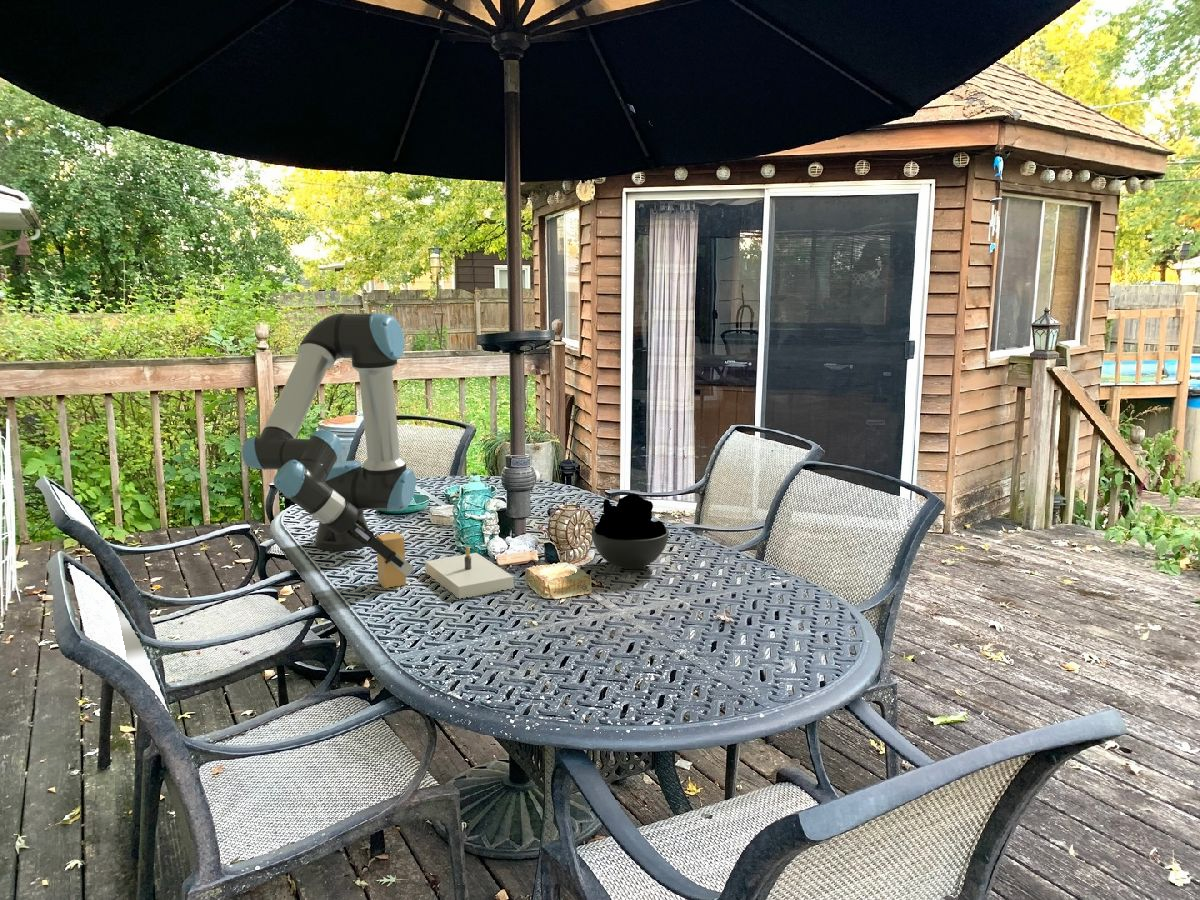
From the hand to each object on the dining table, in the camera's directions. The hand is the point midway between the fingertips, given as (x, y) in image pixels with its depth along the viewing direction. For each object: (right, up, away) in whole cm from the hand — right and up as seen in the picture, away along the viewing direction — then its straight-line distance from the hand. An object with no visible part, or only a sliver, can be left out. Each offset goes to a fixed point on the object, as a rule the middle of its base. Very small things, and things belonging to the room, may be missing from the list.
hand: (406, 568), depth 202 cm
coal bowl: (+55, -2, +13) cm, 57 cm away
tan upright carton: (-3, -4, -1) cm, 5 cm away
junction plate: (+15, -3, +2) cm, 15 cm away
